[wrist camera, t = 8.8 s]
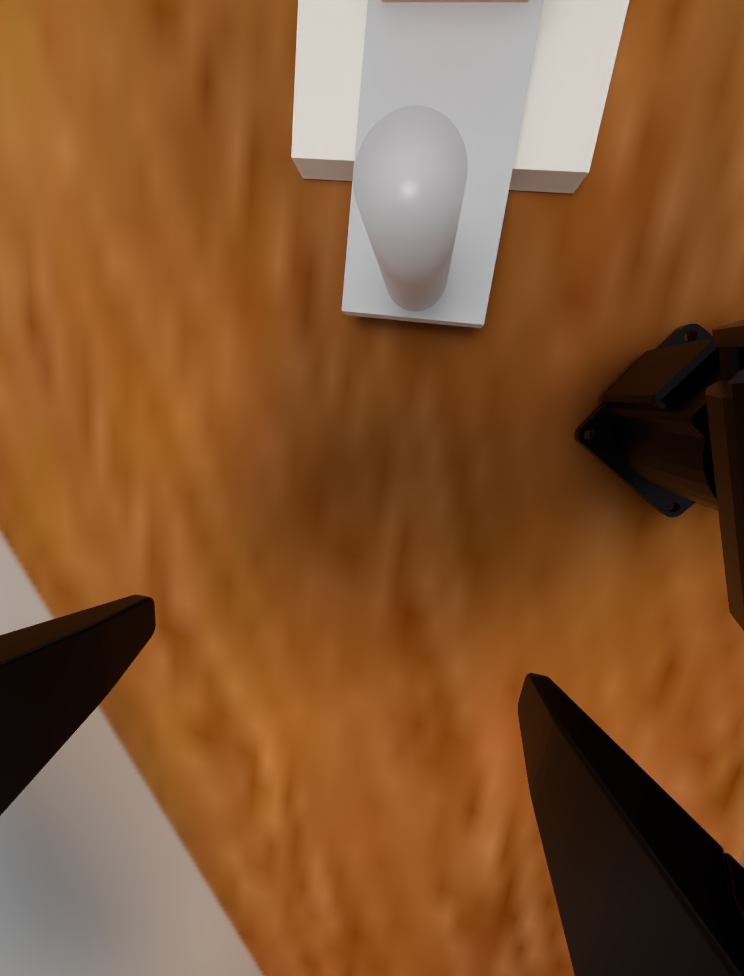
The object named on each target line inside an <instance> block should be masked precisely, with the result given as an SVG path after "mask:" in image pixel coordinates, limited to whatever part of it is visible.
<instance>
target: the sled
mask: <svg viewBox="0 0 744 976" xmlns="http://www.w3.org/2000/svg"><path fill="white" fill-rule="evenodd" d="M543 2H544V0H368V4H367V16H366V28H365V40H364V52H363V64H362V75H361V87H360V99H359V111H358V123H357V135H356V146H355V158H354V170H353V182H352V194H351V206H350V217H349V229H348V241H347V253H346V265H345V277H344V288H343V300H342V312H343V313H344V314H345V315H350V316H360V317H371V318H381V319H391V320H401V321H411V322H421V323H432V324H442V325H452V326H462V327H472V328H482V326H483V325H484V321H485V316H486V310H487V305H488V300H489V294H490V289H491V283H492V278H493V273H494V267H495V262H496V256H497V251H498V246H499V240H500V235H501V229H502V224H503V219H504V213H505V208H506V202H507V197H508V192H509V186H510V181H511V175H512V170H513V165H514V159H515V154H516V148H517V143H518V138H519V132H520V127H521V121H522V116H523V111H524V105H525V100H526V94H527V89H528V84H529V78H530V73H531V67H532V62H533V57H534V51H535V46H536V40H537V35H538V30H539V24H540V19H541V13H542V8H543Z"/></svg>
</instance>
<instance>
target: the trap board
mask: <svg viewBox="0 0 744 976" xmlns="http://www.w3.org/2000/svg"><path fill="white" fill-rule="evenodd" d="M628 3H629V0H544V2H543V8H542V13H541V19H540V24H539V30H538V35H537V40H536V46H535V51H534V57H533V62H532V67H531V73H530V78H529V84H528V89H527V94H526V100H525V105H524V111H523V116H522V121H521V127H520V132H519V138H518V143H517V148H516V154H515V159H514V165H513V170H512V175H511V181H510V186H509V190H517V191H535V192H553V193H571V194H573V193H574V192H575V191H576V189H577V188H578V187H579V185H580V184H581V183H582V181H583V180H584V178H585V177H586V176H587V174H588V173H589V170H590V166H591V161H592V157H593V153H594V149H595V144H596V140H597V136H598V131H599V127H600V123H601V119H602V114H603V110H604V106H605V101H606V97H607V93H608V89H609V84H610V80H611V76H612V72H613V67H614V63H615V59H616V54H617V50H618V46H619V42H620V37H621V33H622V29H623V24H624V20H625V16H626V12H627V7H628ZM367 4H368V0H298V20H297V42H296V64H295V87H294V109H293V131H292V154H291V158H292V160H293V162H294V163H295V165H296V167H297V169H298V170H299V172H300V174H301V176H302V178H303V179H321V180H339V181H353V170H354V158H355V146H356V135H357V123H358V111H359V99H360V87H361V75H362V64H363V52H364V40H365V28H366V16H367Z"/></svg>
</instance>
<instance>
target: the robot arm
mask: <svg viewBox="0 0 744 976" xmlns="http://www.w3.org/2000/svg"><path fill="white" fill-rule="evenodd" d="M686 332H689V333H690V335H691V338H690V340H689V341H688V342H686V341H685V340H684V335H685V333H686ZM712 332H713V337H712V336H711V335H710V334H709V333H708V332H707V331H706V330H705V329H704V328H702V327H701V326H700V325H698V324H689V325H685V326H682V327H680V328H678V329H677V330H676V331H675V332H674V333H673V334H672V335H671V336H670V337H669V338H667V339H666V340H665V341H664V342H663V343H662V344H661V345H660V346H659V347H658V348H657V349H655V350H650V351H647V352H645V353H644V354H643V355H642V356H641V357H640V358H639V359H638V360H637V361H636V362H635V363H634V364H633V365H632V366H631V367H630V368H629V369H628V370H627V371H626V372H625V373H624V374H623V375H622V376H621V377H620V378H619V379H618V380H617V381H616V382H615V383H614V384H613V385H612V386H611V387H610V388H609V389H608V390H607V391H606V393H605V394H604V395H603V403H602V404H601V405H600V406H599V407H598V408H597V409H596V410H595V411H594V412H593V413H592V414H591V415H590V416H589V417H588V418H587V419H586V420H585V421H584V422H583V423H582V424H581V425H580V426H579V427H578V428H577V430H576V432H575V438H576V440H577V441H578V442H579V443H580V444H581V445H582V446H583V447H584V448H586V449H587V450H588V451H589V452H590V453H591V454H593V455H594V456H595V457H596V458H597V459H598V460H600V461H601V462H602V463H603V464H604V465H605V466H607V467H608V468H609V469H610V470H611V471H612V472H614V473H615V474H616V475H617V476H618V477H619V478H621V479H622V480H623V481H624V482H625V483H626V484H627V485H629V486H630V487H631V488H632V489H633V490H634V491H636V492H637V493H638V494H639V495H640V496H641V497H643V498H644V499H645V500H646V501H647V502H648V503H650V504H651V505H652V506H653V507H654V508H655V509H657V510H658V511H659V512H660V513H662V514H664V515H666V516H668V517H677V516H679V515H681V514H682V513H683V512H685V511H686V510H687V509H688V508H689V507H691V506H692V505H693V504H694V503H695V502H697V503H700V504H702V505H705V506H707V507H710V508H712V509H715V510H717V511H718V512H719V521H720V530H721V539H722V548H723V557H724V566H725V575H726V584H727V593H728V601H729V610H730V613H731V614H732V616H733V617H734V618H735V620H736V621H737V622H738V624H739V625H740V626H741V628H742V629H743V630H744V320H742V321H739V322H735V323H732V324H729V325H726V326H722V327H719V328H716V329H713V330H712ZM587 430H591V432H592V434H591V436H590V438H588V439H585V438H584V433H585V431H587ZM671 503H674V507H673V508H672V509H670V510H668V506H669V505H670V504H671ZM155 626H156V623H155V606H154V601H153V599H152V598H151V597H147V596H142V595H132V596H129V597H126V598H122V599H119V600H116V601H112V602H109V603H106V604H102V605H99V606H96V607H93V608H89V609H86V610H83V611H79V612H76V613H73V614H69V615H66V616H63V617H60V618H56V619H53V620H50V621H47V622H43V623H40V624H36V625H33V626H30V627H27V628H23V629H20V630H17V631H13V632H10V633H7V634H4V635H0V816H1V814H2V813H3V812H4V811H5V810H6V809H7V808H8V806H9V805H10V804H11V803H12V802H13V801H14V800H15V799H16V797H17V796H18V795H19V794H20V793H21V792H22V791H23V790H24V789H25V787H26V786H27V785H28V784H29V783H30V782H31V781H32V780H33V778H34V777H35V776H36V775H37V774H38V773H39V772H40V771H41V769H42V768H43V767H44V766H45V765H46V764H47V763H48V762H49V760H50V759H51V758H52V757H53V756H54V755H55V754H56V752H57V751H58V750H59V749H60V748H61V747H62V746H63V745H64V743H65V742H66V741H67V740H68V739H69V738H70V736H72V734H73V733H74V732H75V731H76V730H77V729H78V728H79V726H80V725H81V724H82V723H83V722H84V721H85V720H86V719H87V718H88V716H89V715H90V714H91V713H92V712H93V711H94V710H95V709H96V707H97V706H98V705H99V704H100V703H101V702H102V701H103V699H104V698H105V697H106V696H107V695H108V693H109V692H110V691H111V690H112V688H113V687H114V686H115V685H116V683H117V682H118V681H119V679H120V678H121V677H122V675H123V674H124V673H125V671H126V670H127V669H128V667H129V666H130V665H131V663H132V662H133V661H134V659H135V658H136V657H137V655H138V654H139V653H140V651H141V650H142V649H143V647H144V646H145V645H146V643H147V642H148V641H149V639H150V638H151V637H152V635H153V633H154V630H155ZM518 716H519V723H520V730H521V737H522V743H523V750H524V757H525V764H526V770H527V777H528V783H529V789H530V795H531V799H532V804H533V808H534V812H535V816H536V820H537V824H538V828H539V832H540V836H541V840H542V844H543V849H544V853H545V857H546V861H547V865H548V869H549V873H550V877H551V881H552V885H553V889H554V893H555V897H556V901H557V905H558V909H559V913H560V917H561V921H562V925H563V929H564V934H565V938H566V942H567V946H568V950H569V954H570V958H571V962H572V966H573V970H574V974H575V976H744V868H743V867H742V866H741V865H740V864H739V863H738V862H737V861H736V860H735V859H734V858H733V857H732V856H731V855H730V854H728V853H724V850H723V848H722V847H721V846H720V845H719V844H718V843H717V842H716V841H715V840H714V839H713V838H712V837H711V836H710V835H709V834H708V833H707V832H706V831H705V830H704V829H703V828H702V827H701V826H700V825H699V824H698V823H697V822H696V821H695V820H694V819H693V818H692V817H691V816H690V815H689V814H688V813H687V812H686V811H685V810H684V809H683V808H682V807H681V806H680V805H679V804H678V803H677V802H676V801H675V800H674V799H673V798H671V797H670V796H669V795H668V794H667V793H666V792H665V791H664V790H663V789H662V788H661V787H660V786H659V785H658V784H657V783H656V782H655V781H654V780H653V779H652V778H651V777H650V776H649V775H648V774H647V773H646V772H645V771H644V770H643V769H642V768H641V767H640V766H639V765H638V764H637V763H636V762H635V761H634V760H633V759H632V758H631V757H630V756H629V755H628V754H627V753H626V752H625V751H624V750H623V749H622V748H620V747H619V746H618V745H617V744H616V743H615V742H614V741H613V740H612V739H611V738H610V737H609V736H608V735H607V734H606V733H605V732H604V731H603V730H602V729H601V728H600V727H599V726H598V725H597V724H596V723H595V722H594V721H593V720H592V719H591V718H590V717H589V716H588V715H587V714H586V713H585V712H584V711H583V710H582V709H581V708H580V707H579V706H578V705H577V704H576V703H575V702H574V701H573V700H572V699H570V698H569V697H568V696H567V695H566V694H565V693H564V692H563V691H562V690H561V689H560V688H559V687H558V686H557V685H556V684H555V683H554V682H553V681H552V680H551V679H550V678H549V677H547V676H544V675H539V674H534V673H529V674H527V676H526V677H525V681H524V684H523V688H522V691H521V695H520V698H519V702H518Z"/></svg>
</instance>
